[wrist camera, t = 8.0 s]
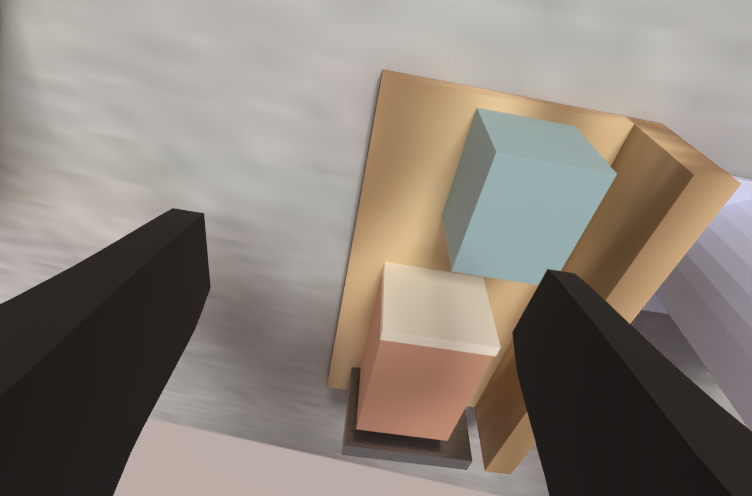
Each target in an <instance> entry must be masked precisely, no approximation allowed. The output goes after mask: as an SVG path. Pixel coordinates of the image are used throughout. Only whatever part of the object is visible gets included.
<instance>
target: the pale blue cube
mask: <svg viewBox="0 0 752 496" xmlns="http://www.w3.org/2000/svg"><path fill="white" fill-rule="evenodd" d="M616 175H617V173H616V172H615V171H614V170H613V169H612V168H611V166H610V165H609V164H608V163H607V162H606V161H605V160H604V158H603V157H602V156H601V155H600V154H599V153H598V152H597V150H596V149H595V148H594V147H593V146H592V145H591V144H590V143H589V141H588V140H587V139H586V138H585V137H584V136H583V135H582V133H581V132H580V131H579V130H578V129H577V128H576V127H575V126H572V125H567V124H561V123H556V122H551V121H546V120H540V119H535V118H530V117H525V116H519V115H514V114H509V113H503V112H498V111H493V110H488V109H482V108H476V111H475V114H474V118H473V121H472V124H471V127H470V130H469V133H468V136H467V139H466V142H465V145H464V149H463V152H462V155H461V158H460V161H459V164H458V167H457V170H456V173H455V176H454V180H453V183H452V186H451V189H450V192H449V195H448V198H447V201H446V204H445V207H444V211H443V214H442V216H443V222H444V228H445V235H446V241H447V247H448V253H449V259H450V266H451V272H457V273H464V274H470V275H476V276H483V277H489V278H495V279H502V280H508V281H514V282H521V283H527V284H533V285H539V283H540V282H541V280H542V278H543V276H544V274H545V273H546V271H547V269H551V270H557V271H561V270H562V268H563V266H564V264H565V263H566V261H567V259H568V258H569V256H570V254H571V252H572V251H573V249H574V247H575V246H576V244H577V242H578V240H579V239H580V237H581V235H582V234H583V232H584V230H585V228H586V227H587V225H588V223H589V222H590V220H591V218H592V216H593V215H594V213H595V211H596V210H597V208H598V206H599V204H600V203H601V201H602V199H603V197H604V196H605V194H606V192H607V191H608V189H609V187H610V185H611V184H612V182H613V180H614V179H615V177H616Z"/></svg>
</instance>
